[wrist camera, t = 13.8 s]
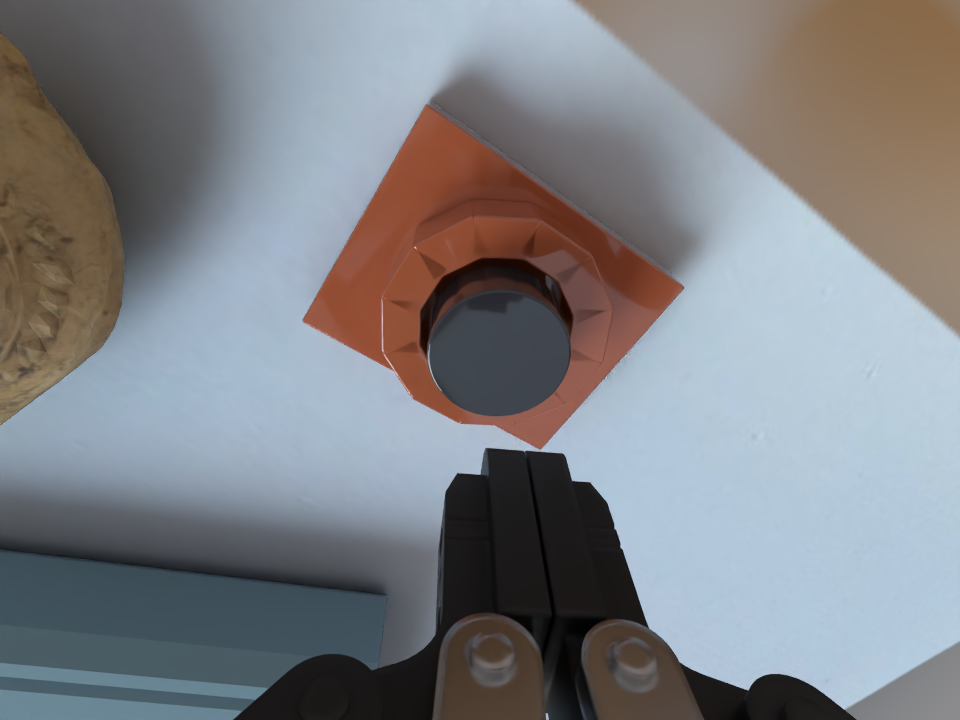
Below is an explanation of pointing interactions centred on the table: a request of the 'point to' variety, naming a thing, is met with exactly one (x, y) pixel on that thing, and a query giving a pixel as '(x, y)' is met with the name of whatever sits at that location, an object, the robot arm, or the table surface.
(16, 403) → the oil lamp
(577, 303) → the button base
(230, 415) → the table surface
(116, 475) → the table surface
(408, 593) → the table surface
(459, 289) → the dark grey knob
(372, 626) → the book
